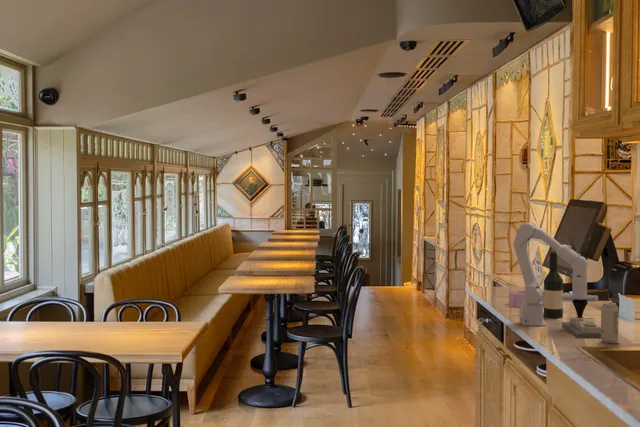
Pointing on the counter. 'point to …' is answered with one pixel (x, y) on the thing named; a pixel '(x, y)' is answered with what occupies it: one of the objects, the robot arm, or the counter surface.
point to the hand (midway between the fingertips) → (579, 317)
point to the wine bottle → (553, 290)
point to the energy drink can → (609, 322)
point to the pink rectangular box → (519, 298)
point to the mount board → (582, 329)
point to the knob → (589, 321)
